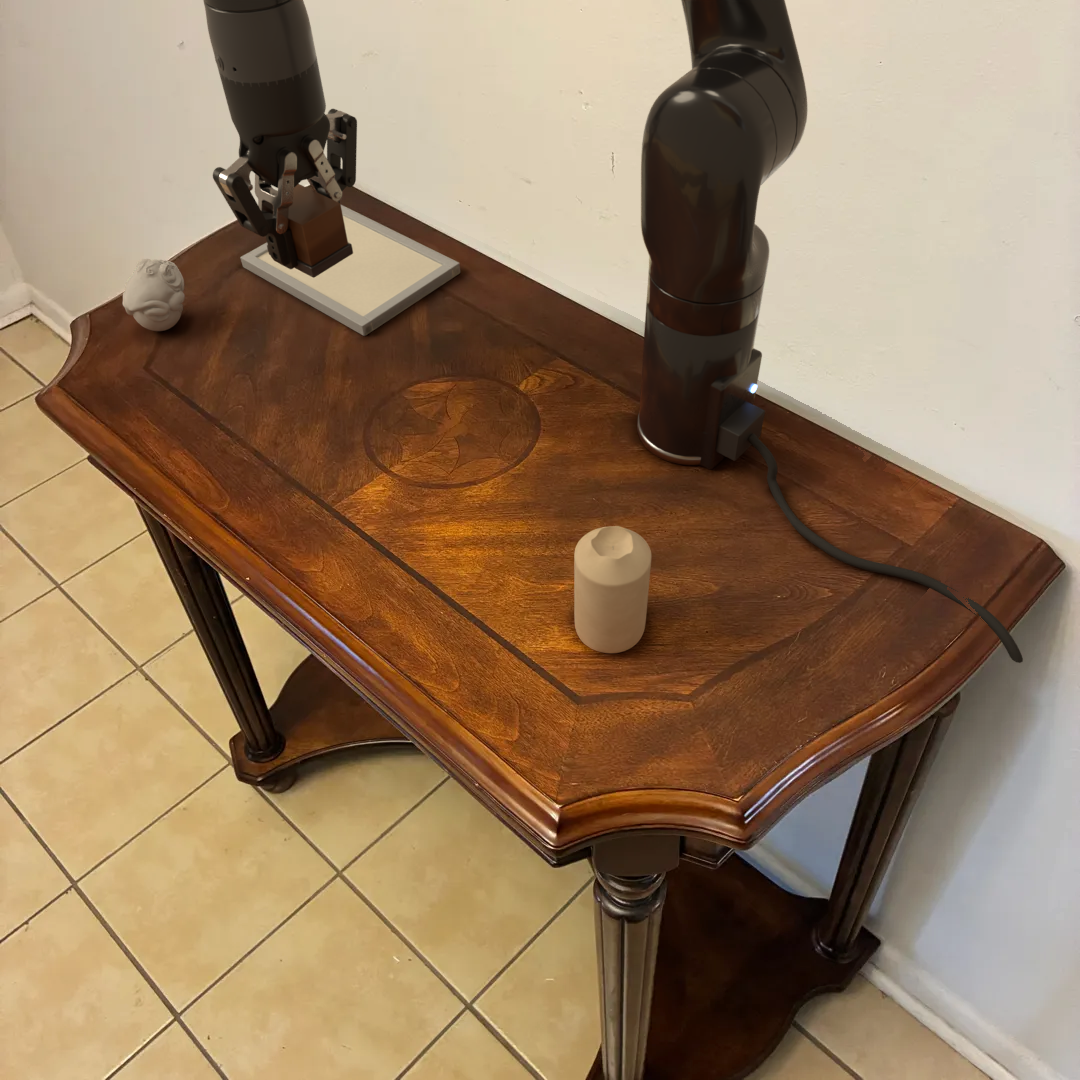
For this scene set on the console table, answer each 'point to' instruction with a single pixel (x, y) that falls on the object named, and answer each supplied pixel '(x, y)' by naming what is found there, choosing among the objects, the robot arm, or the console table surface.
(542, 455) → the console table surface
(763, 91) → the robot arm
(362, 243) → the whiteboard
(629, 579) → the candle
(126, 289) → the frog figurine
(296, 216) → the eraser
